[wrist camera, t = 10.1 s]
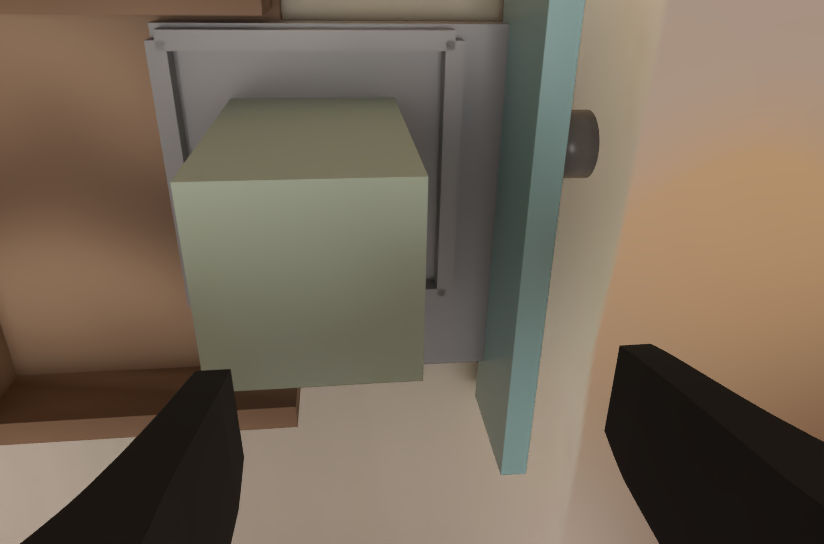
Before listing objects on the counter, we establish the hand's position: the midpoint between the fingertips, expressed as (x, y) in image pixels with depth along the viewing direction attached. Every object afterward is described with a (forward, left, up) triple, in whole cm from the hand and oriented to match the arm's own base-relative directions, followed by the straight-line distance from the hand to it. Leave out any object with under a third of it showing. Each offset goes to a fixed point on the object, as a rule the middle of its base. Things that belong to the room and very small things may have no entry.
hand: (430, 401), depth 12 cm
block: (+2, +2, -8) cm, 9 cm away
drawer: (+1, 0, -9) cm, 9 cm away
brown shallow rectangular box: (+3, +8, -10) cm, 13 cm away
